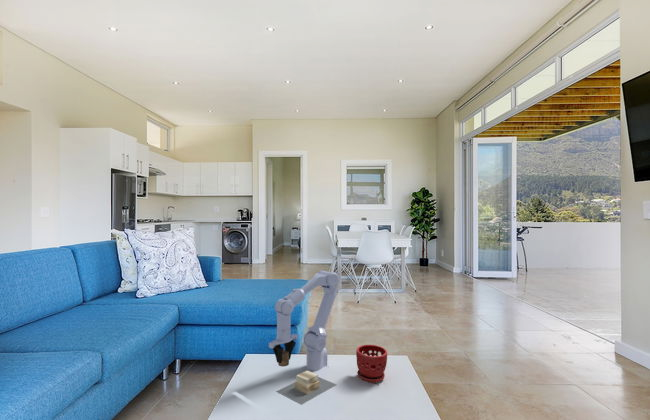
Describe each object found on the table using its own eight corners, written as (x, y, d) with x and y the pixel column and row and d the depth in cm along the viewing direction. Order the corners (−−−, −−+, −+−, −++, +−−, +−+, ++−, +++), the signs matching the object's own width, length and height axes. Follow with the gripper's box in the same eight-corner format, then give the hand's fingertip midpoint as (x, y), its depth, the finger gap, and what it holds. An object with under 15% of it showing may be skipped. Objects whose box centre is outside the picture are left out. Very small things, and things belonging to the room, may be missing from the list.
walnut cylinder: (284, 361, 146) (284, 349, 146) (291, 364, 143) (291, 352, 143) (276, 364, 142) (276, 352, 143) (283, 367, 140) (283, 355, 140)
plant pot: (352, 382, 140) (352, 352, 141) (361, 369, 153) (361, 342, 153) (383, 388, 136) (383, 357, 136) (390, 374, 148) (390, 346, 148)
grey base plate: (311, 376, 145) (311, 374, 145) (336, 387, 136) (336, 384, 136) (275, 394, 130) (275, 391, 130) (301, 407, 121) (301, 404, 121)
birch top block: (307, 376, 138) (307, 370, 138) (317, 381, 134) (317, 374, 134) (296, 381, 133) (296, 375, 133) (307, 386, 129) (307, 380, 129)
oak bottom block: (306, 382, 138) (307, 375, 138) (319, 387, 134) (319, 381, 134) (294, 388, 133) (294, 381, 133) (307, 394, 128) (307, 387, 128)
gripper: (290, 322, 151) (289, 353, 151) (264, 330, 140) (263, 363, 140) (301, 325, 147) (300, 357, 146) (275, 334, 136) (275, 368, 135)
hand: (283, 360), depth 143 cm, fingers closed on walnut cylinder, 4 cm apart
